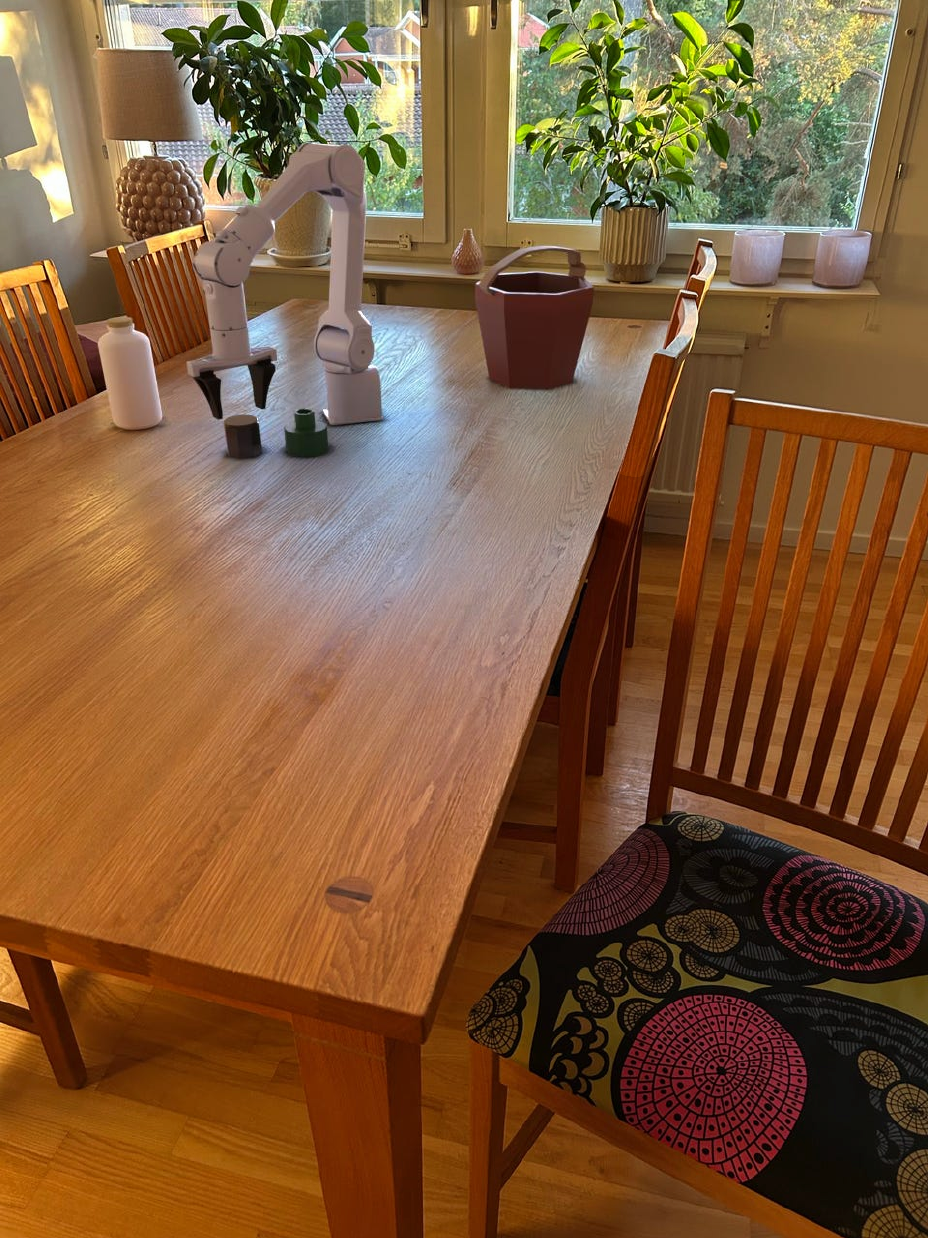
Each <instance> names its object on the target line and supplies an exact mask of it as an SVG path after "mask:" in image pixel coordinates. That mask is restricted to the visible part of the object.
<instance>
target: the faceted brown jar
mask: <svg viewBox="0 0 928 1238" xmlns="http://www.w3.org/2000/svg"><path fill="white" fill-rule="evenodd" d="M222 424H223V431H224V438H225V444H226V452H227V456H228V457H229V458H234V459H239V460H241V459H250V458H255V457H257V456H259V455H261V454H262V453H263V447H262V437H261V430H260V422H259V418H258V417H257V416H255V415H253V414H235V415H234V414H233V415H231V416H227V417H226V418H223V423H222Z"/></svg>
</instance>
